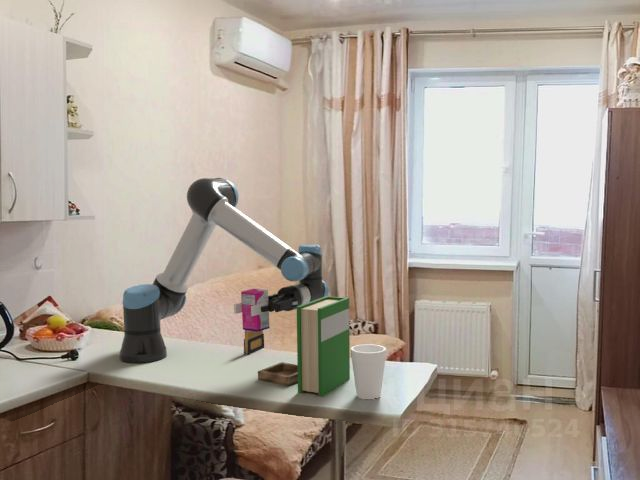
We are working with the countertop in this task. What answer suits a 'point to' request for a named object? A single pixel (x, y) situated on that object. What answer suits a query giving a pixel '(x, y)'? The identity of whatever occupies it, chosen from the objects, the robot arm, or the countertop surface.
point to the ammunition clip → (253, 341)
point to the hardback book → (323, 344)
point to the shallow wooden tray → (280, 374)
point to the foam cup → (368, 369)
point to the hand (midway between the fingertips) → (243, 310)
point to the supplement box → (249, 300)
